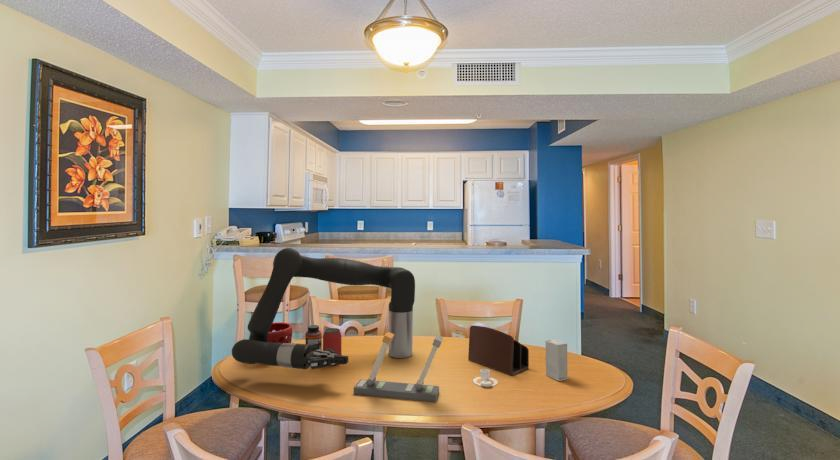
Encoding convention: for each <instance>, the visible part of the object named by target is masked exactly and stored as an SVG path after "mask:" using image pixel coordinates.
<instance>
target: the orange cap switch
mask: <svg viewBox="0 0 840 460" xmlns="http://www.w3.org/2000/svg"><path fill="white" fill-rule="evenodd" d="M393 337H394V334H392V333H390V332H389V331H387V332H386V333H385V334H384V336H383V338H382V341H381V342H382V345H381V346H380V349H379V352H378V354H377V357H376V359H375V361H374V364H373V367H372V370H371V371H370V374H369V377H368V379H366V380H367V381H366V384H367V385H368V386H371V385H372V384H373V383H374V382H375V381H377V376H378V373H379V370H380V368H381V366H382V363H383V361H384V358H385V357H386V353H387V350H388V349H389V343H390V342H391V341H392V339H393Z"/></svg>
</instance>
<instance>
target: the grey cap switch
mask: <svg viewBox="0 0 840 460" xmlns="http://www.w3.org/2000/svg"><path fill="white" fill-rule="evenodd" d="M443 340H444V337H442V336H440V335H438V334H436V335H435V337H434V339H433V342H432V345H431V346H432V348H431V350H430V353H429V354H428V357H427V360H426V362H425V364H424V366H423V369H422V372H421V374H420V376H419V378H418V380H417V381H416V383H415V384H416V385H415V389H416V390H421V388H422V386H423V385H425V384H424V382H425V379H426V377H427V374H428V372H429V369H430V367H431V364H432V362H433V359H434V358H435V355H436V353H437V350H438V349H439V348H440V346H441V345H442V342H443Z"/></svg>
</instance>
